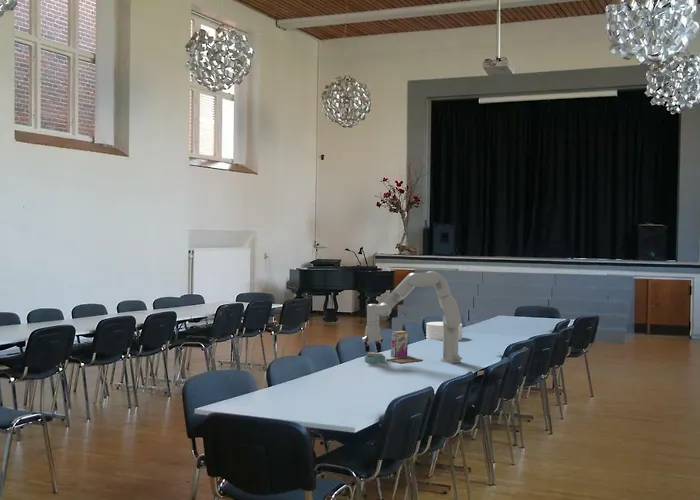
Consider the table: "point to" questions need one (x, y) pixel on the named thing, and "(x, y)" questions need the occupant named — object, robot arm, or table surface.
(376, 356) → the light grey cube
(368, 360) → the bowl
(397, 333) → the candy bar box
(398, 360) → the tray
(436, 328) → the plate stack
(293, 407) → the table surface
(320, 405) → the table surface
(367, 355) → the beige square block
